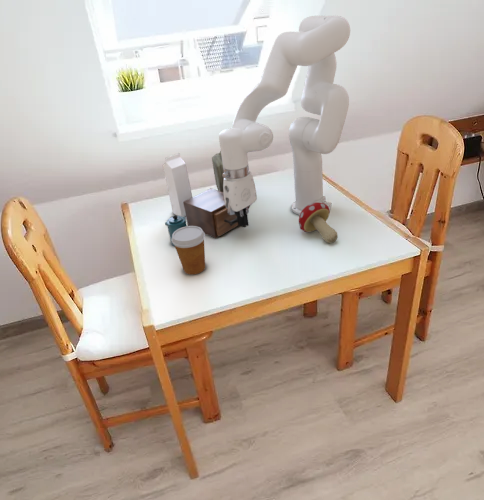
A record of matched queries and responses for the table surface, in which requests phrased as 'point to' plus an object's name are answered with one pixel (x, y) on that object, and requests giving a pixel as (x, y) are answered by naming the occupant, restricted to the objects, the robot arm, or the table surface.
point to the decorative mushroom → (317, 221)
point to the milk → (177, 183)
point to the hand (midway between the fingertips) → (243, 225)
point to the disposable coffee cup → (190, 248)
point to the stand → (204, 210)
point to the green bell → (218, 170)
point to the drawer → (224, 221)
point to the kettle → (175, 224)
